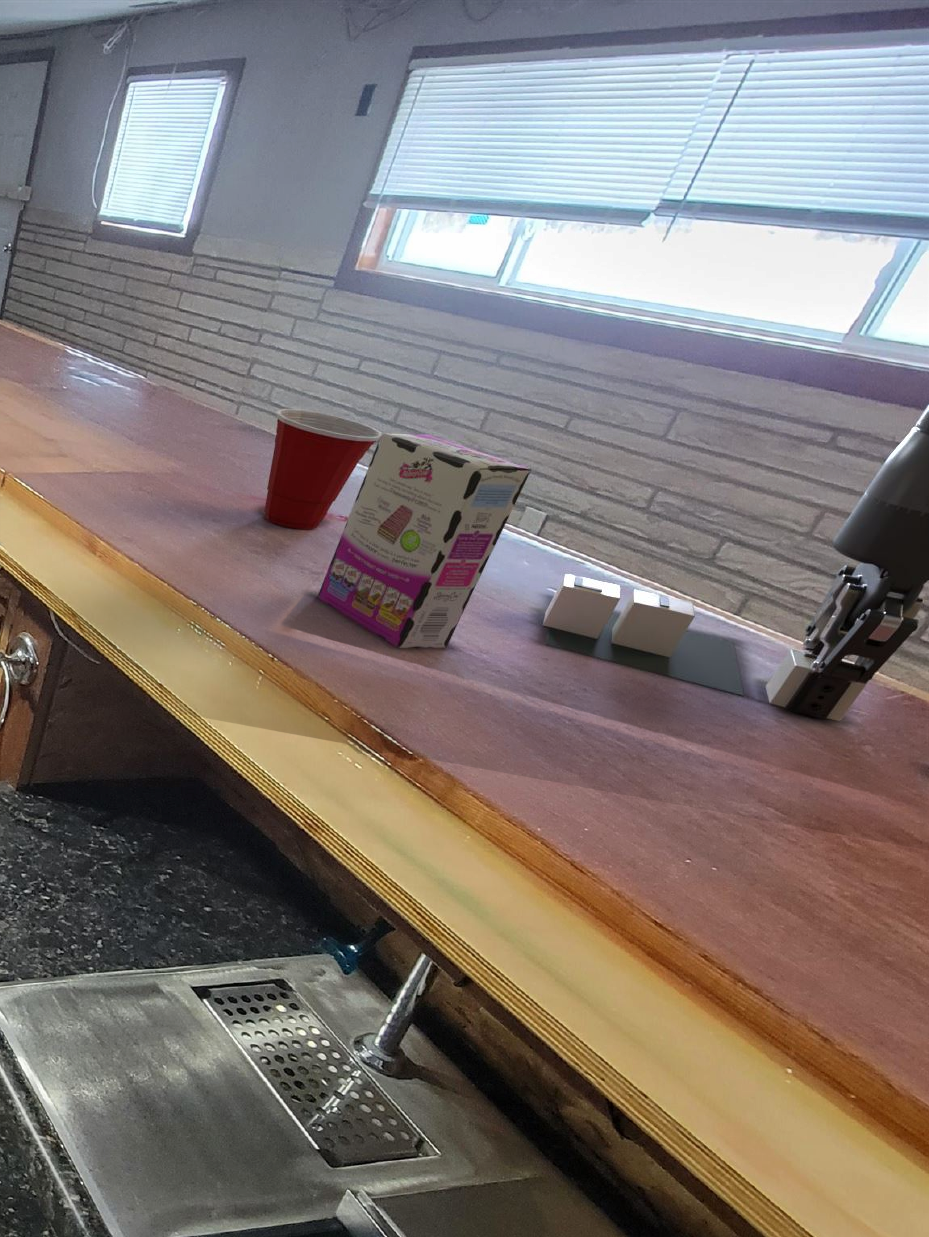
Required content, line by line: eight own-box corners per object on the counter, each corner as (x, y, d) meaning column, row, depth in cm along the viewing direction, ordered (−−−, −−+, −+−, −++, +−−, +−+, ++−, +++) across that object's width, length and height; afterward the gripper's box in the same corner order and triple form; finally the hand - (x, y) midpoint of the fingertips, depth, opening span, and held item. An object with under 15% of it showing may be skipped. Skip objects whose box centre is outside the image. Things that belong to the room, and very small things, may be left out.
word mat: (730, 647, 89) (734, 641, 88) (740, 702, 79) (744, 696, 79) (552, 604, 96) (555, 599, 95) (542, 650, 86) (545, 644, 86)
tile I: (668, 643, 87) (694, 601, 85) (669, 657, 85) (695, 614, 83) (612, 629, 90) (635, 588, 88) (611, 642, 87) (635, 600, 85)
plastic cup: (355, 543, 109) (398, 436, 103) (249, 529, 112) (285, 424, 106) (333, 514, 118) (372, 414, 112) (236, 501, 121) (268, 403, 115)
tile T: (829, 708, 79) (861, 664, 77) (835, 727, 76) (869, 681, 74) (761, 691, 81) (791, 647, 79) (765, 709, 78) (796, 663, 76)
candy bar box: (448, 653, 85) (537, 468, 77) (396, 653, 85) (480, 468, 76) (359, 600, 95) (430, 431, 87) (312, 600, 94) (378, 430, 86)
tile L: (599, 625, 90) (621, 584, 88) (597, 639, 87) (621, 597, 85) (545, 612, 92) (566, 572, 90) (542, 625, 90) (564, 584, 88)
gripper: (1050, 539, 63) (879, 760, 72) (997, 492, 73) (851, 692, 81) (884, 510, 67) (741, 722, 76) (854, 470, 77) (730, 662, 85)
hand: (799, 706), depth 78 cm, fingers closed on tile T, 4 cm apart
